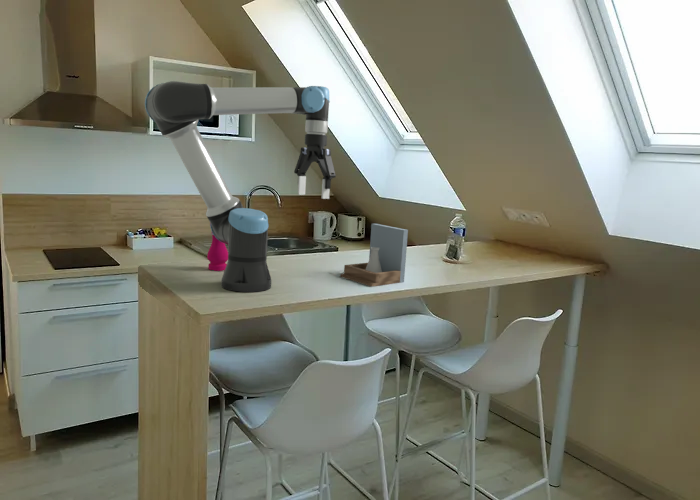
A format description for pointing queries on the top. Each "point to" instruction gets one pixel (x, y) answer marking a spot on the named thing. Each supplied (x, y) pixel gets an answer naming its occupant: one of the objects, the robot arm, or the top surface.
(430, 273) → the top surface
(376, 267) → the flask
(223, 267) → the pepper mill
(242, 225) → the robot arm
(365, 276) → the wooden tray
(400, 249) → the wall board
